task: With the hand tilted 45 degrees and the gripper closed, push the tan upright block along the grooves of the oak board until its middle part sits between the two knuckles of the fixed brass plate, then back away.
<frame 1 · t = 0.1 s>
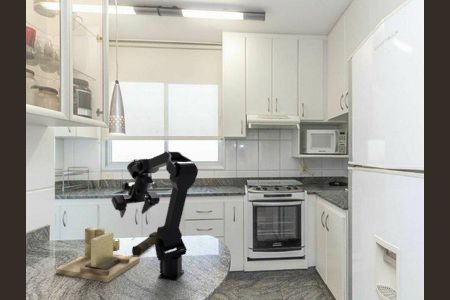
hand: (132, 215, 104), 15 cm above the worktop, tool tilted 35°, fingers open, 9 cm apart
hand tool: (146, 247, 108), on the worktop
tan upright block: (106, 249, 87), point 7 cm above the worktop, slide at 0.0 cm
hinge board: (100, 267, 88), on the worktop
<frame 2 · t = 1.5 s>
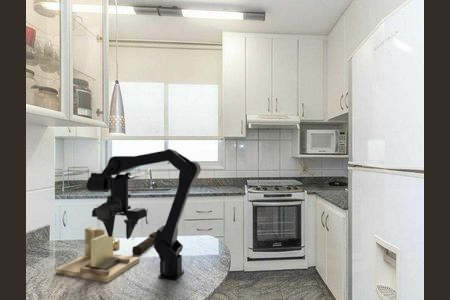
hand: (119, 237, 83), 12 cm above the worktop, tool pointing down, fingers open, 7 cm apart
nothing on the worktop moved.
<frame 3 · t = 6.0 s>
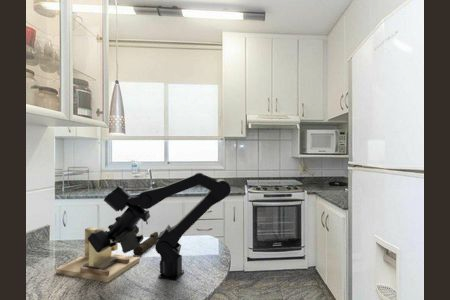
hand: (101, 249, 84), 8 cm above the worktop, tool tilted 45°, fingers closed, pressing on tan upright block
tan upright block: (104, 248, 87), point 7 cm above the worktop, slide at 0.9 cm, touching gripper
everything else where it was.
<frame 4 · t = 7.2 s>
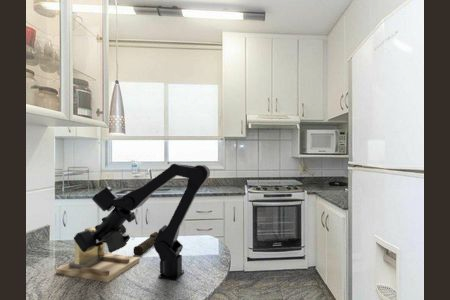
hand: (88, 249, 87), 7 cm above the worktop, tool tilted 45°, fingers closed, pressing on tan upright block
tan upright block: (90, 247, 89), point 7 cm above the worktop, slide at 7.1 cm, touching gripper
everything else where it was.
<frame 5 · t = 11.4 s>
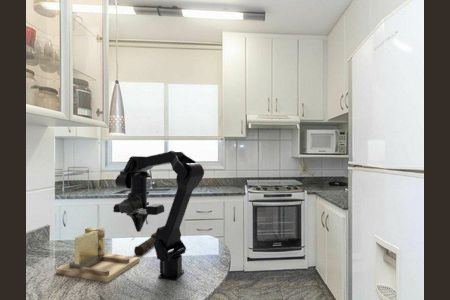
hand: (138, 231, 90), 12 cm above the worktop, tool pointing down, fingers closed
tan upright block: (90, 247, 89), point 7 cm above the worktop, slide at 7.0 cm
at the end: tan upright block slide at 7.0 cm; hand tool moved 1.2 cm from its start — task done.
